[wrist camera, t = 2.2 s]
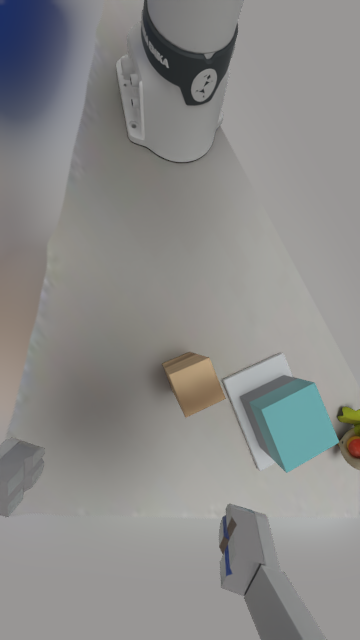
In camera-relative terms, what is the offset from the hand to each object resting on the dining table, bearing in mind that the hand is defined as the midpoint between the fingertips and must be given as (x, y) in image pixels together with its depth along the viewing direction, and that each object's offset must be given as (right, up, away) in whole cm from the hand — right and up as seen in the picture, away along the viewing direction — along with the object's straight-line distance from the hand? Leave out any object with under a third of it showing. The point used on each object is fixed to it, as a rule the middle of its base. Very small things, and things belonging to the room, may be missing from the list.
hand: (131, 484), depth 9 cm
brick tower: (+18, -9, +28) cm, 34 cm away
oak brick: (+2, -2, +27) cm, 27 cm away
